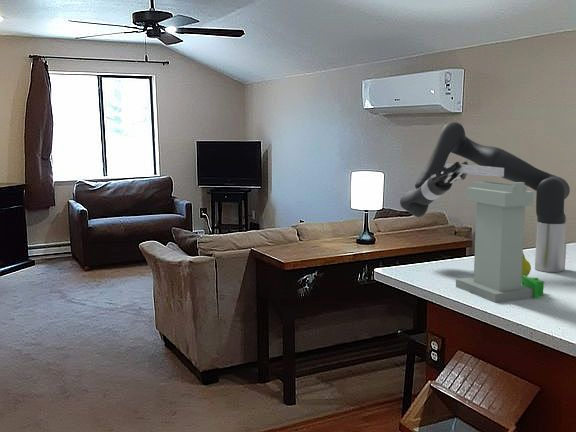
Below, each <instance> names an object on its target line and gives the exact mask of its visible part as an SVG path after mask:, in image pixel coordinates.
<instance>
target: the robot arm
mask: <svg viewBox="0 0 576 432" xmlns="http://www.w3.org/2000/svg"><path fill="white" fill-rule="evenodd" d="M451 153H452V154H454V155H457V156H460V157H462V158H465V159H467V160H468V161H471V162H473V163H474V164H476V165H477V166H488V167H499V168H504V177H501V178H502V179H505V180H508V181H511V182H512V183H513V182H524V186H527V188H530V189H532V190H534V192H535V191H536V192H535V193H536V195H535V196H536V197H535V199H536V200H535V211H536V212H535V213H536V217H537V219H536V236H535V239H536V240H535V252H534V253H535V257H534V269H535V270H537V271H540V272H547V273H559V272H560V273H561V272H563V271H565V270H566V255H567V243H566V242H565V238H566V237H565V235H566V221H567V219H566V217H567V216H566V214H565V200H566V199H567V198H568V197H569V195H570V192H571V190H570V188H571V187H570V185H569V183H568V182H567V181H566V180H565V179H564V178H562V177H560V176H556V175H555V174H551V173H550V172H549V173H548V172H546V171H544V170H541V169H539V168H537V167H535V166H533V165H532V164H531V163H528V162H527V161H525V160H523V159H521V158H520V157H518V156H516V155H515V154H512V153H510V152H508V151H507V150H505V149H503V148H500V147H496V146H489V145H483V144H479V143H477V142H475V141H474V140H472V139H470V138H468V136H466V131H465V129H464V127H463V125H462V123H460V122H456V121H451V122H448V123H446V124H444V125H443V127H442V129H441V130H440V133H439V136H438V138H437V142H436V144H435V147H434V148H433V150H432V153H431V155H430V157H429V160H428V161H427V163H426V165H425V167H424V168H423V170H422V172H421V173H420V175H419V177H418V179H417V180H416V182H415V184H414V188H415V189H411V190H409V191H407V192H406V193H404V194H403V195H402V196H401V198H400V199H399V200H400V201H399V205H400V207H401V208H402V209H403V210H405V211H407V212H408V213H409V214H411V215H413V216H414V217H416V218H421V217H423V216H424V215H425V214H426V213H427V211H428V208H429V205H430V204H431V203H432V202H434V201H435V200H437V199H438V198H439V199H440V197H442V196H443V195H444V194H445V193H446V192H448V191H449V190H450V189H451V188H452V186H453V183H455V182H456V181H457V180H458V179H461V181H463V180H466V177H467V175H468V174H467V173H457V172H455V171H456V170H458V169H459V168H460V164H465V165H469V164H468V161H464V162H462V163H460V162H459V161H456V162H454V164H453V165H452V166H449V167H448V168H446V164H447V163H446V162H447V160H448V157H449V156H450V154H451Z"/></svg>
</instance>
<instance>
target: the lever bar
mask: <svg viewBox="0 0 576 432" xmlns="http://www.w3.org/2000/svg"><path fill="white" fill-rule="evenodd" d="M454 163H455V162H454ZM454 163H453V162H452V163H445V167H446V168H448V167H449V166H452V165H453V164H454ZM459 164H460V168H459V169H458V170H456V171H455V172H457V173H467V175H478V176H485V177H486V176H487V177H496V178H499V177H500V178H502V177H504V168H499V167H488V166H480V165H478V164H476V165H474V164H468V165H465V164H462V163H459Z"/></svg>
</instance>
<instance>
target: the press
mask: <svg viewBox="0 0 576 432" xmlns="http://www.w3.org/2000/svg"><path fill="white" fill-rule="evenodd" d="M465 189H466V190H465V191H466V193H465V201H467V202H474V203H476V209H475V212H476V213H475V233H474V234H475V236H474V237H475V238H474V259H473V261H474V263H473V264H474V265H473V277H462V278H456V279H455V288H458V289H461V290H463V291H465V292H468V293H471V294H473V295H476V296H477V297H481V298H483V299H484V300H485V299H486V300H488V301H490V302H493V303H501V302H509V301H515V300H516V301H519V300H524V299H534V298H533V296H534V289H531V288H528V287H525V286H522V258H523V253H524V239H525V238H524V236H525V235H524V234H525V218H526V217H525V214H526V207H527V206H533V205H534V191H532V190H528V186H526V185H524V182H513V181H512V182H511V183H504V182H498V181H497V182H495V181H488V180H485V181H484V182H480V181H473V184H472V187H466V188H465Z"/></svg>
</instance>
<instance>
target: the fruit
mask: <svg viewBox="0 0 576 432" xmlns="http://www.w3.org/2000/svg"><path fill="white" fill-rule="evenodd" d="M531 270H532V266H531V263H530V262H529V260H527V259H526V256H525V253H524V252H523V258H522V275H526V276H527V277H529V274H530V273H531Z"/></svg>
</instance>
